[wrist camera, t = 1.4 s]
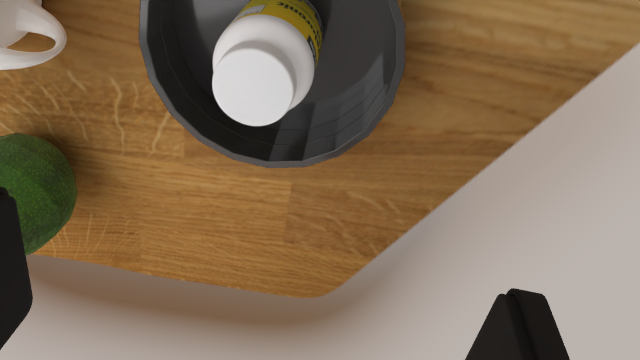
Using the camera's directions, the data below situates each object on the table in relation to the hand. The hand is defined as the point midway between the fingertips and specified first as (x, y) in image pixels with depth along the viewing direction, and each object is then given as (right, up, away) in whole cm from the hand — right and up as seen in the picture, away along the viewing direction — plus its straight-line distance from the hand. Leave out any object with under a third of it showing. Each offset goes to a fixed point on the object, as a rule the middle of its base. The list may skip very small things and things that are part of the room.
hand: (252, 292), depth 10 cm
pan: (-1, +12, +23) cm, 26 cm away
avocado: (-20, +4, +31) cm, 37 cm away
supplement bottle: (-1, +12, +23) cm, 26 cm away
